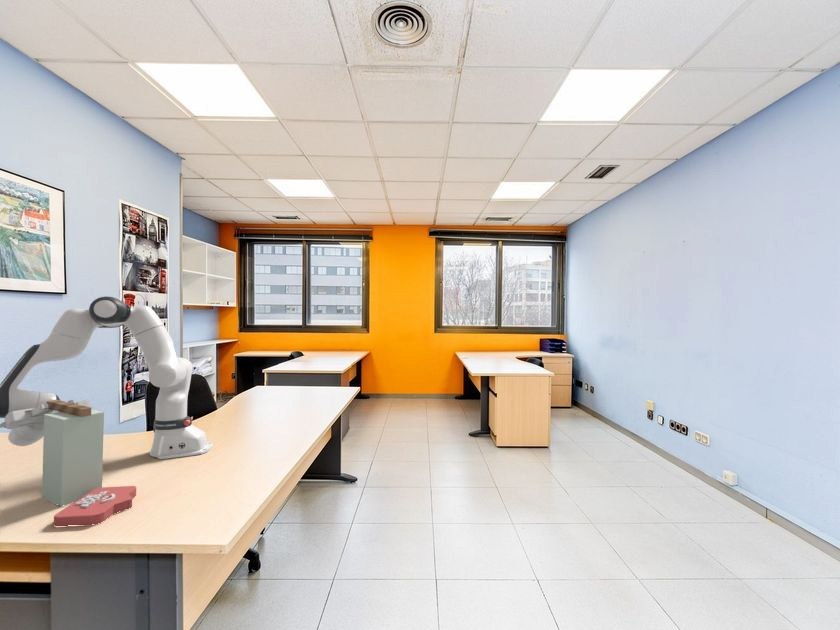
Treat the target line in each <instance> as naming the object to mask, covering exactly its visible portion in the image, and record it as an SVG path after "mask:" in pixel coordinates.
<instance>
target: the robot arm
mask: <svg viewBox="0 0 840 630" xmlns="http://www.w3.org/2000/svg"><path fill="white" fill-rule="evenodd" d="M121 326H126V327H127V328H128V329H129V331H130V332H131V334H132V336H133V338H134V339H135V341H136V342H137V345H138V346H139V348H140V350H141V352H142V354H143V356H144V359H145V362H146V366H147V369H148V379H149V382H150V383H151V384H152V385H153V386H155V387H157V388H159V391H158V395H157V398H156V399H155V415H154V417H155V418H154V420H153V433H154V434H153V435H154V436H153V441H152V445H151V448H150V451H149V456H150V457H153V458H157V459H158V460H166V459H174V458H182V457H189V456H190V457H191V456H197V455H203V454H205V453H207V452H209V451H210V450H211V449H212V448H213V445H214V444H213V442H212V441H208V439H207V435H206V432H205V431H204V430H202V429H200V428H199V427H197V426H195V425H194V424H193V417H194V416H191V417H190V416H189V415H188V398H189V397H188V396H189V391H190V385H191V380H192V375H193V371H194V365H193V362H192V361H190V360H189V359H187V358H185V357H180V356H179V357H178V356H177V354H176V351H175V347H174V346H175V345H174V341H173V338H172V337H171V335H170V333H169V332H168V330H167V328H166V327H165V325H164V323H163V322H162V320H161V318H160V316H158V314H157V313H156V312H155V310H154V309H152V307H151V306H148V305H137V306H134V307H131V305H129V304H127V303H125V302H124V301H122V300H120V299H119V298H116V297H113V296H100V297H98V298H96V299H94V300H93V301H92V302H91V303H90V304H89V308H88V309H83V308H77V307H76V308H69V309H67V310H66V311H64V312H63V314H62V315H61V316H60V317H59V319H58V320H57V322H56V323H55V325H54V327H53V328H52V330H51V332H50V334H49V336H47V338H46V339H44V341H42V342H40V343H38V344H33V345H32V346H30V347H29V348H28V349H27V350H26V351H25V352H24V354H23V355H22V356H21V357H20V358H19V359H18V361H17V362H16V363H15V365H14V366H13V367H12V369H10V371H9V372H8V373H7V375H6V376H5V377H4V378H3V380H2V381H1V383H0V419H4V422H1V423H0V429H1V428H4V429H7V430H10V431H9V433H8V436H7V440H8V442H9V443H11V444H12V445H14V446H16V447H17V446H18V447H26V446H30V445H34V444H35V443H37V442H38V441H40V440H41V439H44V414H50V413H56V412H59V411H55V410H51V409H49V407H48V404H47V401H51V400H60V401H62V400H61V399H60V397H59V395H57V394H56V393H52V392H45V391H36V390H35V391H34V390H25V389H21V388H18V386H19V385H20V384H21V383H22V382H23V381H24V379H25V378H26V376H27V375H28V374H29V373H30V371H31V370H32V369H33V368H34V367H36V366H38V365H40V364H42V363H49V362H57V361H58V362H59V361H67V360H71V359H74V358H77V357H79V356H80V355H82V354H83V352H84V351H85V349H86V348H87V346H88V344H89V342H90V339H91V337H92V335H93V334H94V331H95V330H96V329H97V328H100V329H107V328H108V329H114V328H119V327H121ZM67 402H69V403H73V404H78V405H82V406H87V407H90V406H91V405H90V402H89V400H87V399H84V400H78V401H76V399H70V400H68V401H67Z"/></svg>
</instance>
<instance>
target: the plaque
mask: <svg viewBox="0 0 840 630" xmlns="http://www.w3.org/2000/svg"><path fill="white" fill-rule="evenodd" d="M135 496H136V497H137V486H135V485H125V486H123V485H122V486H107V487H106V486H104V487H103V486H102V488H97V489H94V490H93V491H91V492H89V493H88V494H86V495H85V496H83V497H82V498H80V499H79V500H77V501H75V502H74V503H72V504H69V505H67V506H66V507H65V508H63V509H61V510H60V511H59V512H57V513H55V514H54V515H53V526H54V525H55V526H68V525H92V524H97V525H99V524H98V523H100V524H102V523H101V522H103V521H105V520H106V519H107V518H108V519H109V517H110V516H111V515H112V514H113V515H115V514H114V513H116V514H118V513H117V512H119V511H122V512H124V511H123V510H125V509H128V510H130V509H132V508H133V500H134V499H135V498H136V497H135ZM134 497H135V498H134ZM131 507H132V508H131ZM129 508H130V509H129ZM125 511H126V510H125ZM119 513H120V512H119ZM113 515H112V516H113ZM112 516H111V517H112ZM111 517H110V518H111ZM108 519H107V520H108ZM107 520H106V521H107ZM106 521H105V522H106ZM103 523H104V522H103ZM92 526H93V525H92Z"/></svg>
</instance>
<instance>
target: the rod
mask: <svg viewBox="0 0 840 630" xmlns="http://www.w3.org/2000/svg"><path fill="white" fill-rule="evenodd" d="M60 400H61V399H60ZM60 400H51V401H47V404H48V407H49V409H51V410H55V411H59V412H63V413H67V414H71V415H75V416H79V417H85V416H90V415H91V409H92V407H87V406H82V405H78V404H73V403H69V402H68V401H63V400H61V401H60Z"/></svg>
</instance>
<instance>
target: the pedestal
mask: <svg viewBox="0 0 840 630" xmlns="http://www.w3.org/2000/svg"><path fill="white" fill-rule="evenodd" d="M104 420H105V412H104V411H101V410H96V409H92V408H91V415H90V416H85V417H79V416H75V415H71V414H67V413H63V412H56V413H50V414H44V437H43V442H42V443H43V447H42V448H43V449H42V452H43V453H42V477H41V479H42V480H41V481H42V483H41V485H42V486H41V499H43V498H44V499H43V500H45V499H46V500H45V501H47V500H48V501H47V502H49V501H50V503H51V502H53V503H55V504H54V505H56V504H58V505H60V506H63V505H66V506H68V505H67V504H69V505H71V504H70V503H72V502H75V501H77V500H79V499H80V498H82V497H83V496H85V495H86V494H88V493H89V492H91V491H93V490H94V489H97V488H102V487H103V463H104V462H103V461H104V460H103V459H104V456H103V455H104V427H105V425H104V424H105V422H104ZM53 503H52V504H53ZM58 505H57V506H58ZM60 506H59V507H60ZM63 507H64V506H63Z"/></svg>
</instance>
